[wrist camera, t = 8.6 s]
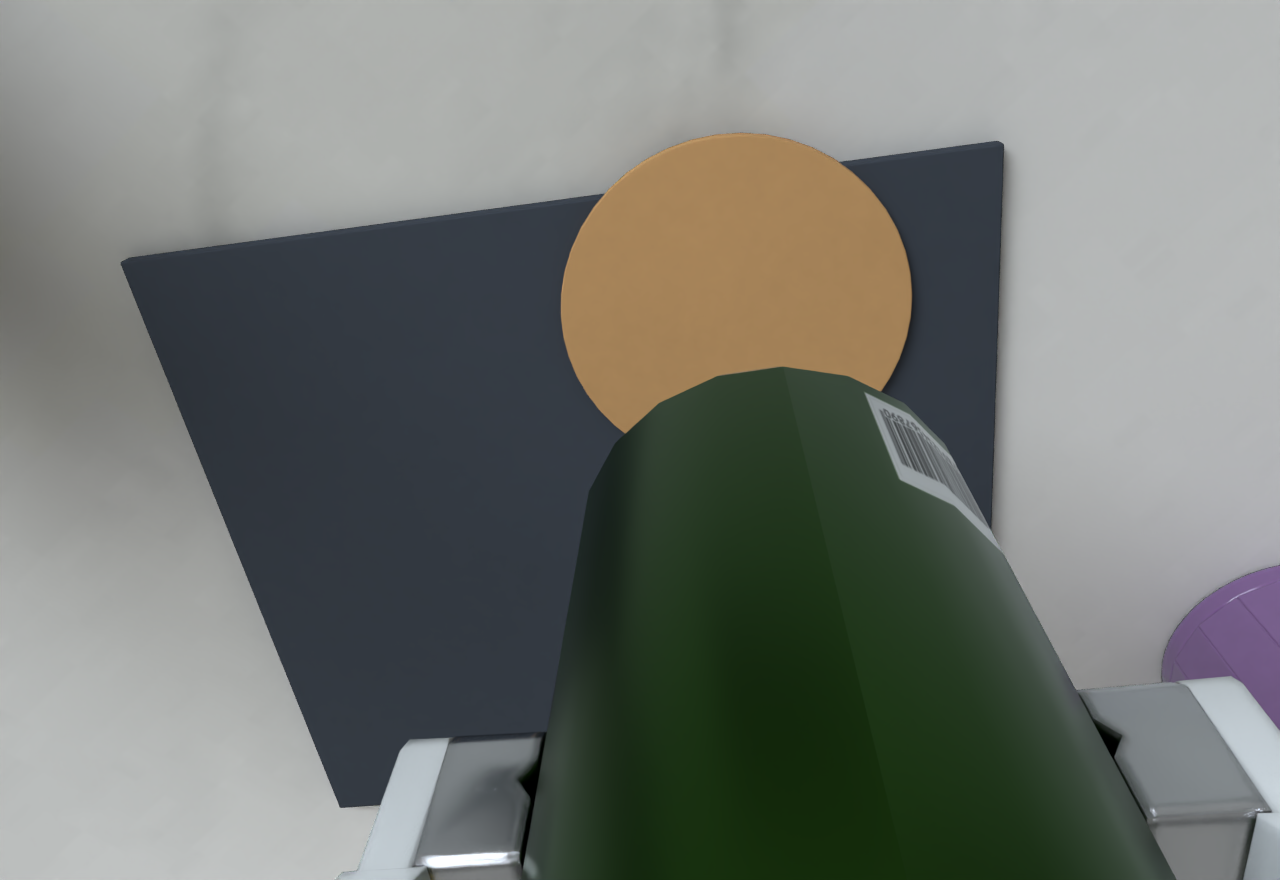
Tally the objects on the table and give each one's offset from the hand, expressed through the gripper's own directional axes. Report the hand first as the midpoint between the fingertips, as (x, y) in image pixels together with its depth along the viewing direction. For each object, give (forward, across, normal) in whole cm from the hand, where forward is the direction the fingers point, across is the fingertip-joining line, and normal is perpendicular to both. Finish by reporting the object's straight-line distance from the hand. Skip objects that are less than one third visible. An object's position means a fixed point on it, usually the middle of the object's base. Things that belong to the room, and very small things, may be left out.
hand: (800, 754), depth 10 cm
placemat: (+14, +4, +6) cm, 16 cm away
